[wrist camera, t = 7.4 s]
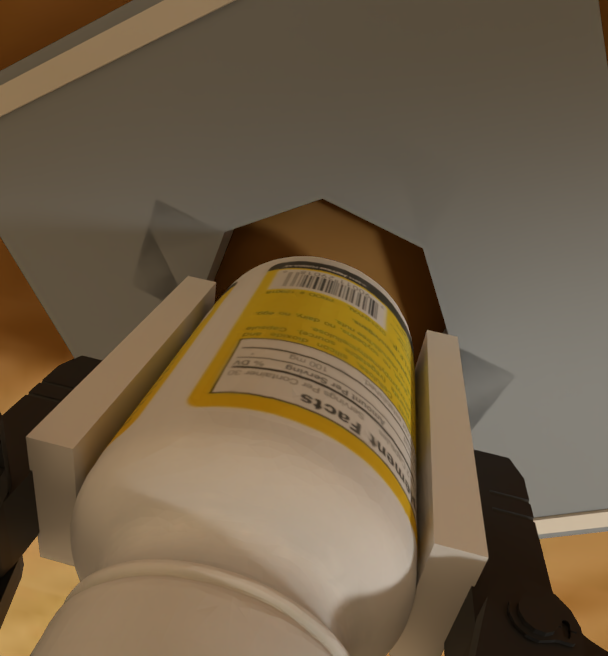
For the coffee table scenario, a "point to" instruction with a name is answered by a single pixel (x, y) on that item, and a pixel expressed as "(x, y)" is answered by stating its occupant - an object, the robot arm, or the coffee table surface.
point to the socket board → (342, 184)
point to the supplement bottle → (258, 484)
